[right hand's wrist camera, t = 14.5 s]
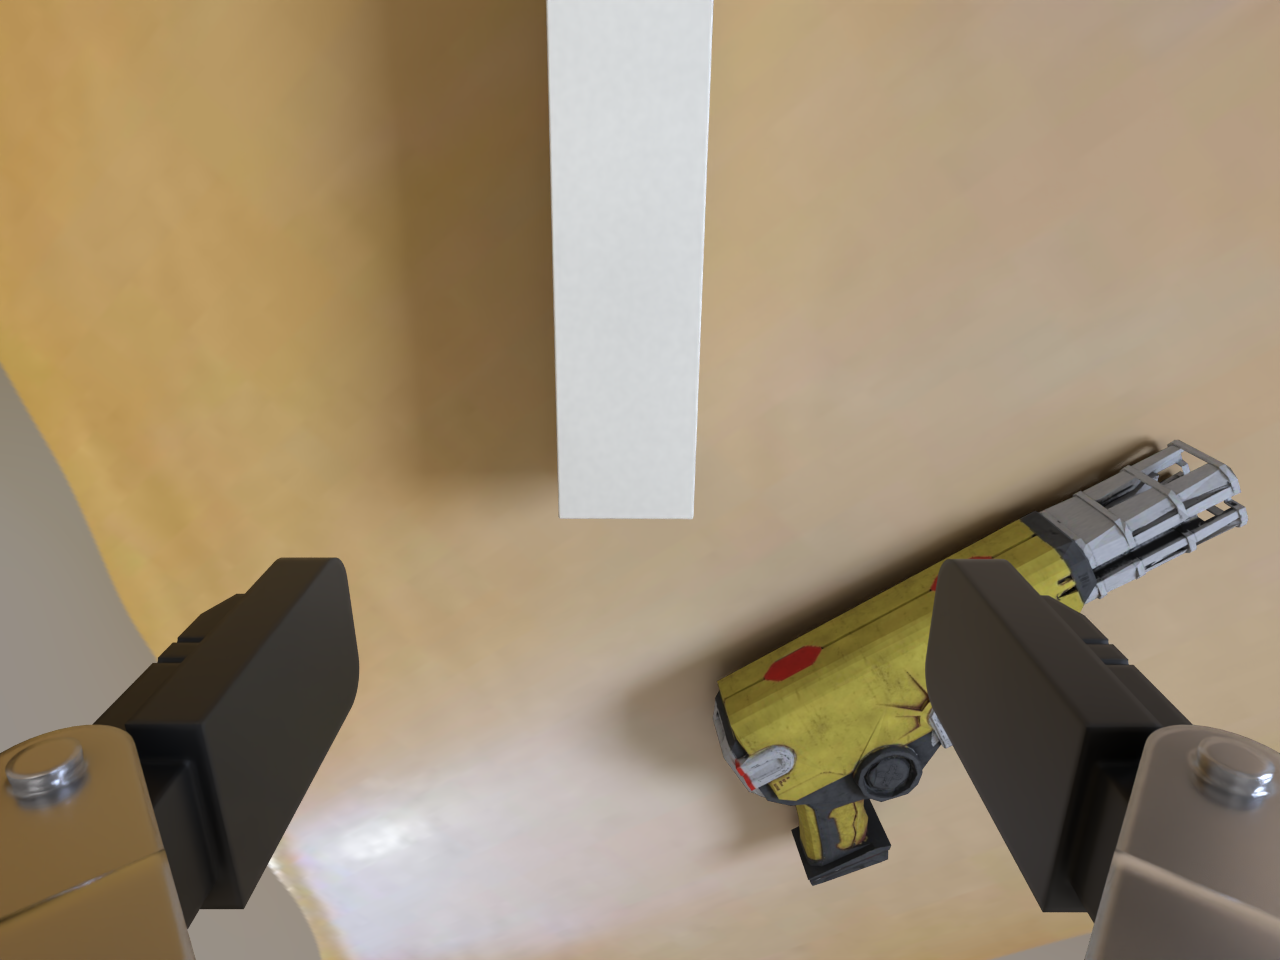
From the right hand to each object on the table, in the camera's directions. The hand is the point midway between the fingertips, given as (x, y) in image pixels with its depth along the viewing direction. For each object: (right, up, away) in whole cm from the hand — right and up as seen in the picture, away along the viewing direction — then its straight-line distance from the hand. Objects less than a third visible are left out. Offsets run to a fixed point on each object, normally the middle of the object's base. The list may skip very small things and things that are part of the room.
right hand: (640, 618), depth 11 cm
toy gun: (+17, -8, +30) cm, 35 cm away
